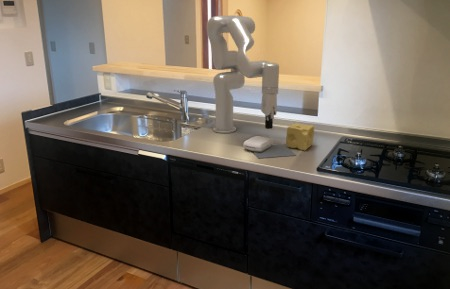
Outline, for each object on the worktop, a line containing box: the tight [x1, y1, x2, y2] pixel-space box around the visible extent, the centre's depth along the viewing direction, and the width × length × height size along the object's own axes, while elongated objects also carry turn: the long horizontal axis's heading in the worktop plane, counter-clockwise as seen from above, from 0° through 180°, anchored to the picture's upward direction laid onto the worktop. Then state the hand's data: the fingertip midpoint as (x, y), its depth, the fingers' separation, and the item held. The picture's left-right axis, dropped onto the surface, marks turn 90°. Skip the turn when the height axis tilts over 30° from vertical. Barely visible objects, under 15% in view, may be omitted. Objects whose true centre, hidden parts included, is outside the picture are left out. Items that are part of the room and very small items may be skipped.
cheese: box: [285, 122, 315, 151], centre depth 194 cm, size 10×11×10 cm
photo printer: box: [242, 135, 274, 152], centre depth 191 cm, size 10×4×12 cm
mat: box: [252, 143, 297, 160], centre depth 189 cm, size 16×18×1 cm
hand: (268, 128), depth 191 cm, fingers closed
